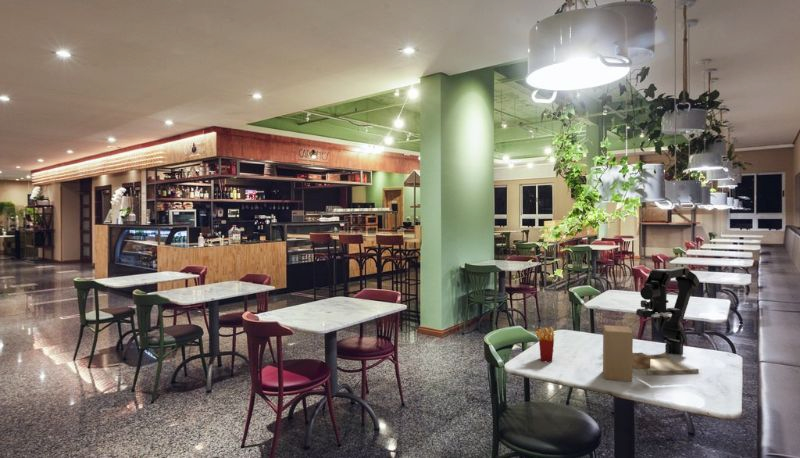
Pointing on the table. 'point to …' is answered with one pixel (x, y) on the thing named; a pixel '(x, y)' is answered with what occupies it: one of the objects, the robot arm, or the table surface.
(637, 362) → the walnut block
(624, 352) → the wooden block
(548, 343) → the french fries
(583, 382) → the table surface
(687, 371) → the trap board
